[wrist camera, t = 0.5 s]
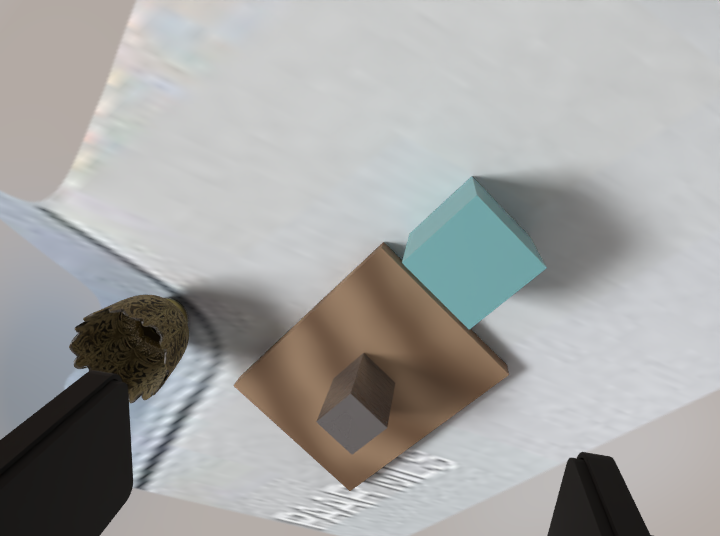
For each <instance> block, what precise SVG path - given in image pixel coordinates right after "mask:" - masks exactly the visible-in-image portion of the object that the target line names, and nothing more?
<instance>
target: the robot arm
mask: <svg viewBox="0 0 720 536" xmlns="http://www.w3.org/2000/svg"><path fill="white" fill-rule="evenodd" d="M132 487H133V470H132V452H131V433H130V415H129V397H128V386H127V384H126V383H125V382H122V379H121V377H120V376H119V375H118V374H113V373H108V372H102V371H96V370H92V371H89V372H87V373H86V374H85V375H83V376H82V377H81V378H80V379H78V380H77V381H76V382H74V383H73V384H72V385H71V386H69V387H68V388H67V389H65V390H64V391H63V392H62V393H60V394H59V395H58V396H56V397H55V398H54V399H53V400H51V401H50V402H49V403H47V404H46V405H45V406H44V407H42V408H41V409H40V410H39V411H37V412H36V413H35V414H33V415H32V416H31V417H30V418H28V419H27V420H26V421H24V422H23V423H22V424H20V425H19V426H18V427H17V428H16V429H14V430H13V431H11V432H10V433H9V434H8V435H6V436H5V437H4V438H2V439H1V440H0V536H100V535H101V533H102V532H103V531H104V529H105V528H106V527H107V526H108V524H109V523H110V522H111V520H112V519H113V518H114V517H115V515H116V514H117V513H118V511H119V510H120V509H121V507H122V506H123V505H124V504H125V502H126V501H127V499H128V498H129V496H130V494H131V490H132ZM548 536H652V535H650V533H649V531H648V529H647V527H646V525H645V523H644V521H643V519H642V517H641V515H640V512H639V511H638V508H637V506H636V504H635V502H634V500H633V498H632V496H631V494H630V492H629V490H628V488H627V485H626V483H625V481H624V479H623V477H622V475H621V473H620V471H619V469H618V467H617V465H616V463H615V461H614V459H613V458H612V457H610V456H604V455H598V454H592V453H586V452H581V453H579V455H578V457H577V459H576V458H569V460H568V462H567V464H566V469H565V472H564V476H563V479H562V483H561V487H560V491H559V495H558V498H557V502H556V506H555V510H554V513H553V517H552V521H551V524H550V528H549V532H548Z"/></svg>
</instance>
